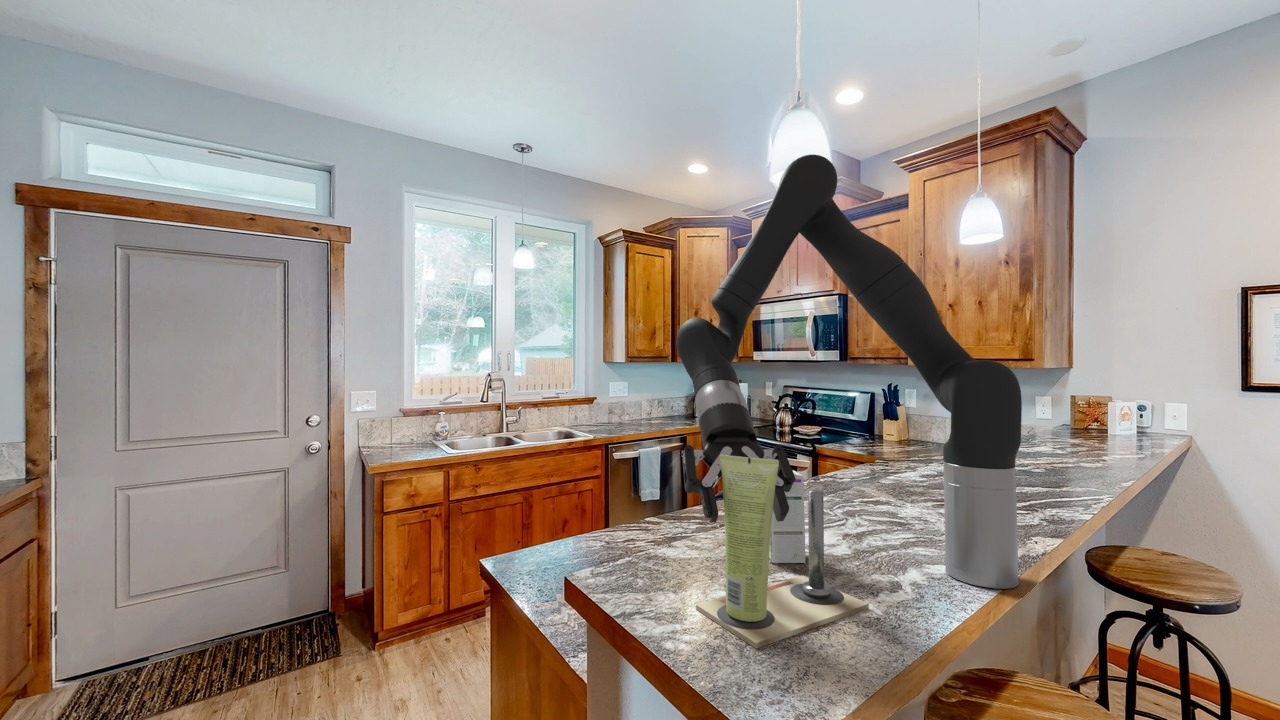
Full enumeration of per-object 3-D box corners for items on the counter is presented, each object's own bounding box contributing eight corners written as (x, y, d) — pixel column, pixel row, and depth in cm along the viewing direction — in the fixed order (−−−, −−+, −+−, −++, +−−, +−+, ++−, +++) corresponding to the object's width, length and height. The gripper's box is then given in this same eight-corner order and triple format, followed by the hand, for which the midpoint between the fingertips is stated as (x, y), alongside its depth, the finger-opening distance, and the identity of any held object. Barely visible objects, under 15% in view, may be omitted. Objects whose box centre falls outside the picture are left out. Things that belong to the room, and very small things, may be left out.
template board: (802, 579, 75) (802, 575, 75) (868, 608, 65) (868, 603, 65) (696, 609, 65) (696, 604, 65) (756, 648, 55) (755, 642, 55)
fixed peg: (814, 586, 71) (814, 487, 72) (836, 595, 68) (835, 492, 68) (797, 591, 69) (796, 489, 70) (818, 601, 66) (817, 494, 67)
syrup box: (806, 564, 81) (806, 474, 82) (770, 564, 81) (770, 474, 82) (796, 552, 87) (795, 468, 88) (762, 552, 87) (762, 468, 88)
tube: (758, 602, 65) (758, 453, 66) (779, 620, 60) (779, 458, 61) (718, 607, 64) (719, 454, 65) (737, 626, 59) (737, 460, 60)
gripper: (679, 400, 70) (696, 503, 58) (777, 401, 71) (813, 501, 59) (672, 434, 75) (687, 535, 63) (764, 434, 76) (796, 533, 64)
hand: (748, 518), depth 61 cm, fingers open, 8 cm apart
